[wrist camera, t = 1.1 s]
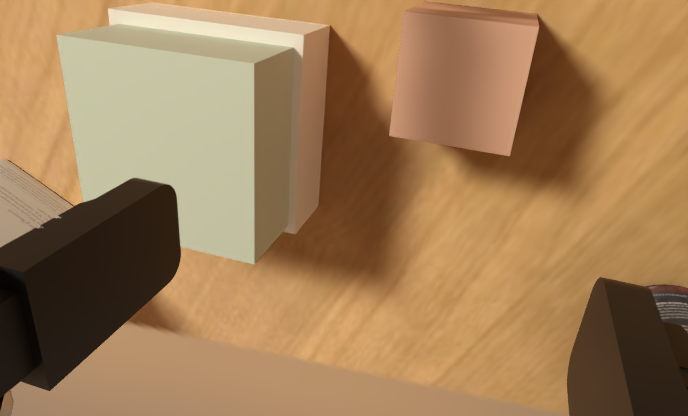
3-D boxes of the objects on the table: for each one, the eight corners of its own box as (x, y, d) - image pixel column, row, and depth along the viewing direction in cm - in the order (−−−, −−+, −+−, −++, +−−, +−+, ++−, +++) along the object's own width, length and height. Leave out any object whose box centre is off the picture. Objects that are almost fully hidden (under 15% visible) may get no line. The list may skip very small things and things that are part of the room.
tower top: (293, 47, 24) (254, 63, 20) (288, 225, 28) (254, 264, 25) (118, 23, 26) (56, 34, 23) (137, 192, 30) (86, 224, 27)
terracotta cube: (536, 13, 24) (539, 27, 20) (512, 122, 26) (509, 156, 22) (424, 1, 25) (403, 11, 21) (410, 106, 27) (389, 135, 23)
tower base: (332, 24, 27) (303, 34, 24) (320, 203, 32) (295, 234, 28) (157, 2, 29) (107, 8, 26) (169, 171, 34) (128, 196, 30)
